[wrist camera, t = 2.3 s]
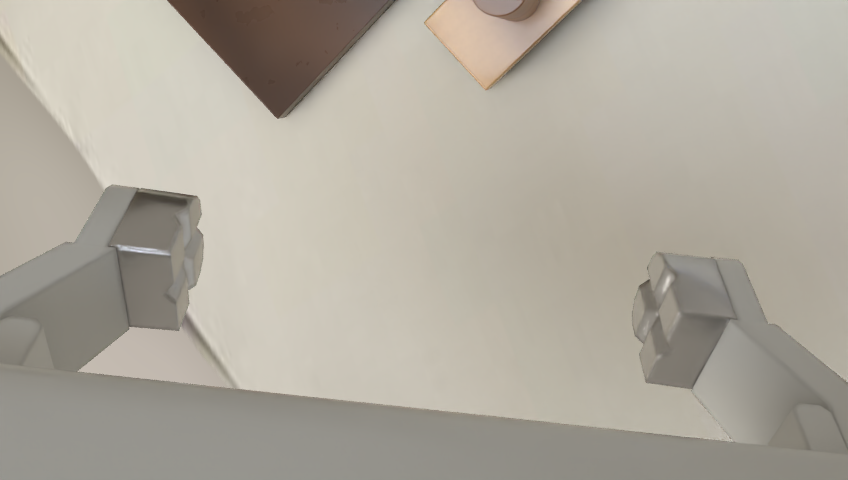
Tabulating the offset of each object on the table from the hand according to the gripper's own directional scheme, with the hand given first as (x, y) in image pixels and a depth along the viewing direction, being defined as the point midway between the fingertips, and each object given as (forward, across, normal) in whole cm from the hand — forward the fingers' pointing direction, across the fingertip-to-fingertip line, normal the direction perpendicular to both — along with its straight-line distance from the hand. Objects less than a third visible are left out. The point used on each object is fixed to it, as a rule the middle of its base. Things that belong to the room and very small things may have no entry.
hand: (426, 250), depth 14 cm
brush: (+32, -5, +8) cm, 33 cm away
